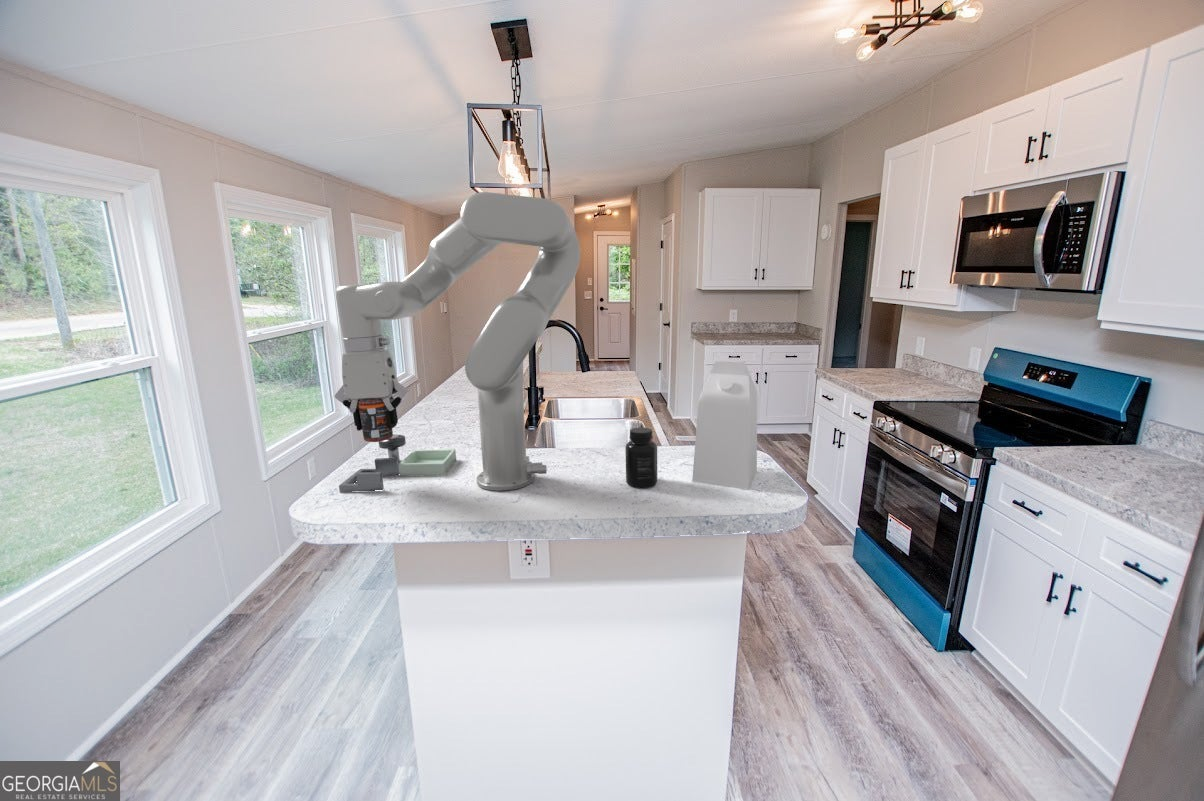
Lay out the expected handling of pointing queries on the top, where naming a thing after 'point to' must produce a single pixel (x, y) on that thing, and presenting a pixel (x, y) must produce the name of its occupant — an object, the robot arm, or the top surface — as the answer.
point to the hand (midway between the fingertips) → (377, 427)
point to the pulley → (393, 445)
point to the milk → (727, 428)
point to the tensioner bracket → (371, 476)
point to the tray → (427, 462)
